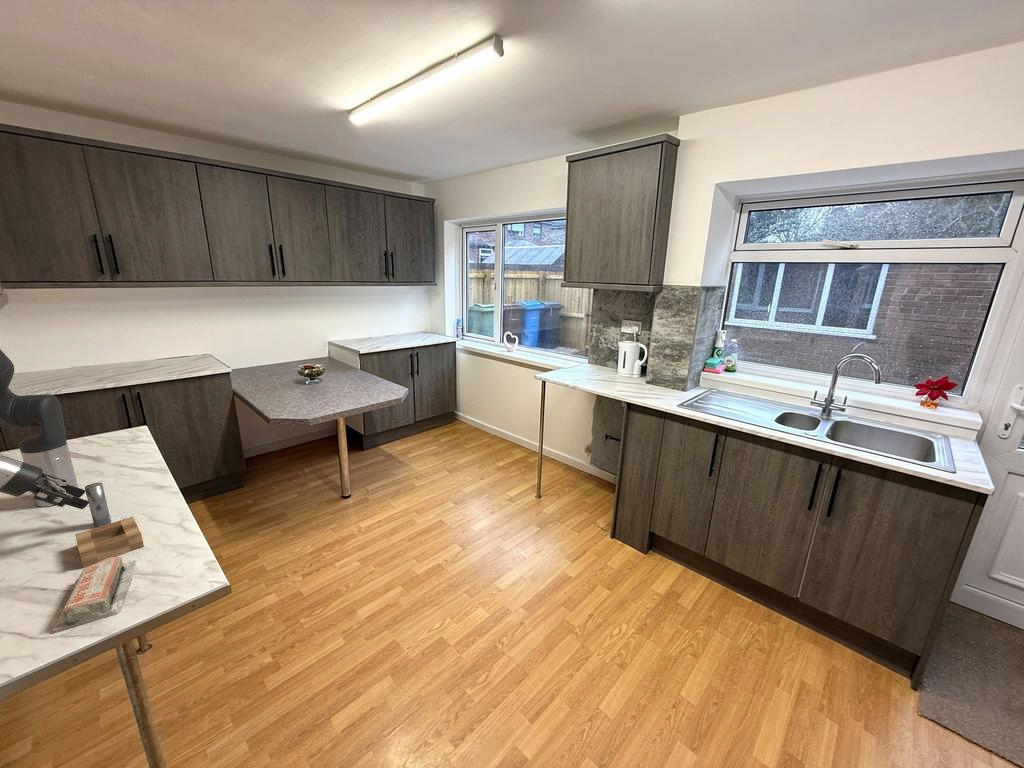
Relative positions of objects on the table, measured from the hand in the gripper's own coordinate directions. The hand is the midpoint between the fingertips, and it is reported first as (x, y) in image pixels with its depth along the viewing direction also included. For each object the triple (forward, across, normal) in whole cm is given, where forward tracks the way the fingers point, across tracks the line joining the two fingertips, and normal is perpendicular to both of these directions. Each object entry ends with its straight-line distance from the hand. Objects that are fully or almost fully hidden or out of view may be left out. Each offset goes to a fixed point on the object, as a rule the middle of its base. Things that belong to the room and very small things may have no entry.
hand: (84, 499), depth 110 cm
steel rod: (+8, 0, +4) cm, 9 cm away
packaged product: (+6, -34, +8) cm, 36 cm away
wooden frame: (+8, -15, +5) cm, 17 cm away
